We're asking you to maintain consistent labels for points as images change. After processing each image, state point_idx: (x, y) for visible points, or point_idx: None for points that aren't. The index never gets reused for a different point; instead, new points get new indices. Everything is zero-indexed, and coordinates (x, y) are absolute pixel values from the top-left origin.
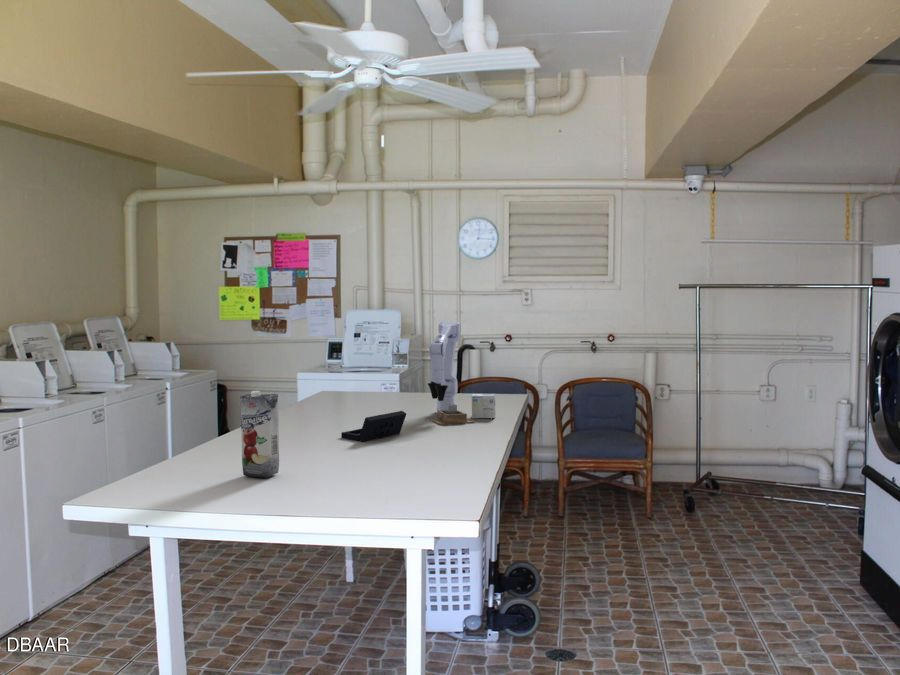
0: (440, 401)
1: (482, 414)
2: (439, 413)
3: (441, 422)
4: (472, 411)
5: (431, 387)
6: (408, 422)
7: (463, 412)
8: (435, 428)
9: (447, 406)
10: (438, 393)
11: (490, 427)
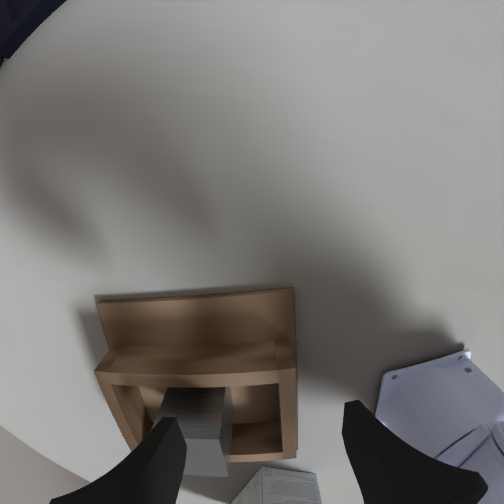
0: (446, 415)
1: (243, 499)
2: (252, 363)
3: (142, 324)
4: (261, 491)
5: (390, 490)
6: (255, 124)
7: None
8: (34, 251)
9: None
10: (118, 466)
11: (64, 441)
